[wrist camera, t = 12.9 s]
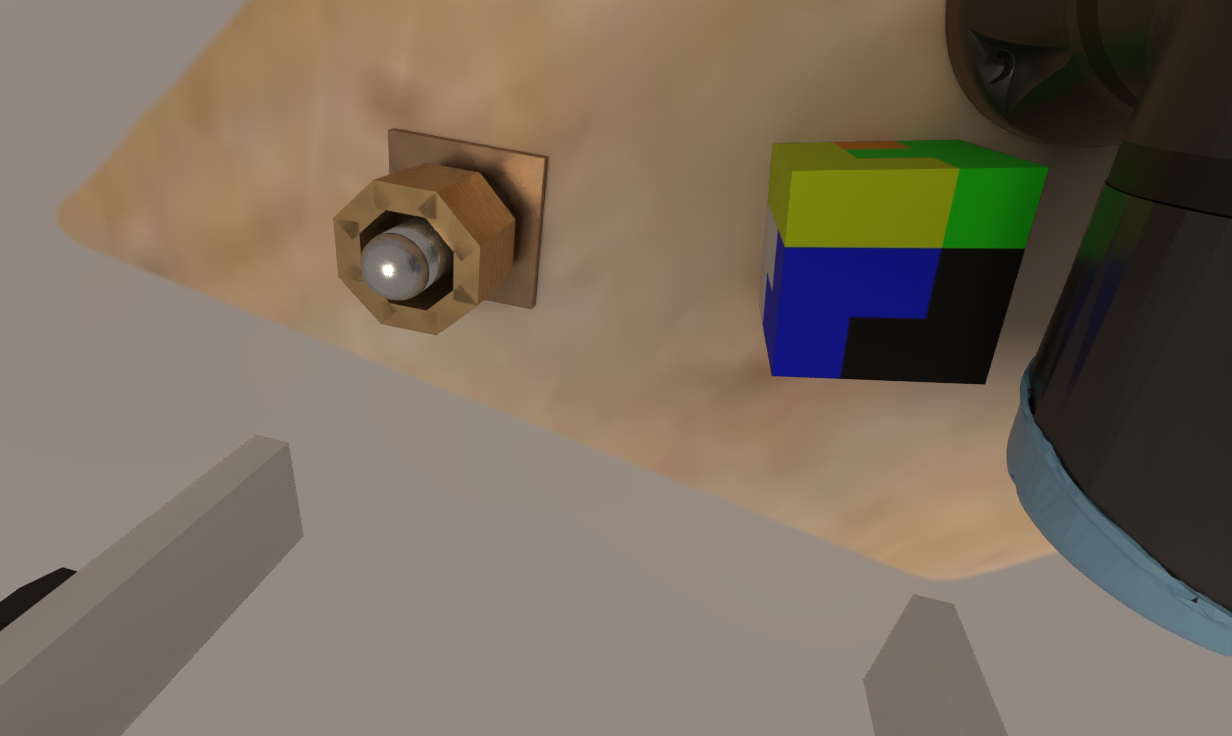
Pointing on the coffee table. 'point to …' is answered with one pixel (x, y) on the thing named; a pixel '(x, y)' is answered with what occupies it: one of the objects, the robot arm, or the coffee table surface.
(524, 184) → the peg on square base
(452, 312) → the ring
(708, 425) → the coffee table surface
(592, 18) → the coffee table surface
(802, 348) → the puzzle toy
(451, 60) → the coffee table surface
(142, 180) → the coffee table surface
